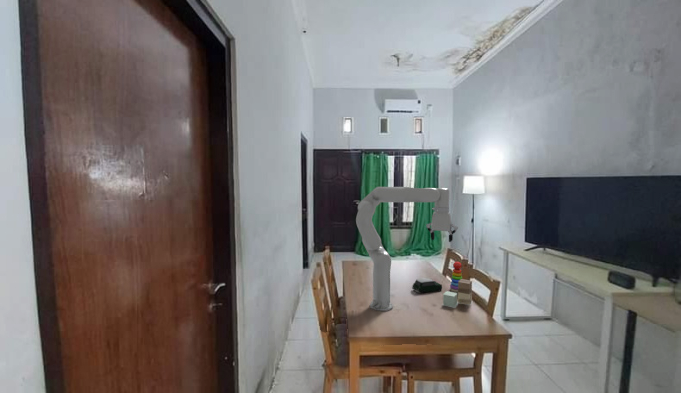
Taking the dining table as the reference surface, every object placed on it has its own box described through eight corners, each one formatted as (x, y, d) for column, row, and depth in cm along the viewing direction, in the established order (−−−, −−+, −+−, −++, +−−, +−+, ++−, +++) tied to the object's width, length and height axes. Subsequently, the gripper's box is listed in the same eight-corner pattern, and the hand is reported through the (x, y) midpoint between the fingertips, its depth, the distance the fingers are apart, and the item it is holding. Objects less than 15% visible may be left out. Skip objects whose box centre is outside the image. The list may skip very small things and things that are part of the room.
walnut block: (469, 294, 169) (469, 283, 169) (458, 292, 173) (458, 281, 172) (471, 291, 174) (471, 280, 174) (460, 289, 178) (460, 278, 177)
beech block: (469, 305, 170) (469, 294, 169) (458, 302, 173) (458, 292, 173) (471, 301, 174) (471, 291, 174) (460, 299, 178) (460, 289, 178)
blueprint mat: (472, 315, 158) (472, 313, 158) (440, 307, 168) (440, 306, 168) (480, 302, 175) (480, 301, 175) (450, 296, 184) (450, 295, 184)
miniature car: (443, 292, 192) (443, 279, 191) (418, 295, 186) (418, 282, 186) (435, 287, 200) (435, 275, 200) (410, 290, 195) (410, 278, 195)
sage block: (454, 307, 167) (454, 296, 166) (443, 304, 170) (443, 294, 170) (457, 303, 171) (457, 293, 171) (446, 301, 175) (446, 291, 175)
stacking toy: (461, 294, 187) (462, 264, 186) (448, 291, 192) (448, 262, 191) (464, 290, 194) (464, 261, 193) (451, 287, 198) (451, 259, 197)
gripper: (424, 210, 172) (424, 240, 173) (456, 211, 162) (455, 243, 163) (428, 208, 178) (428, 238, 179) (459, 210, 168) (459, 241, 169)
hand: (441, 240), depth 171 cm, fingers open, 9 cm apart
